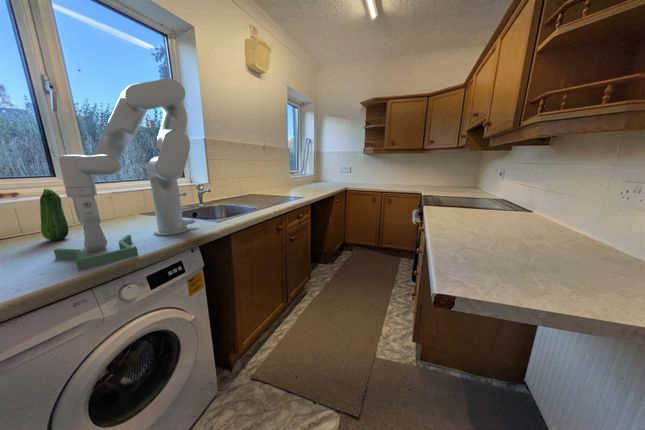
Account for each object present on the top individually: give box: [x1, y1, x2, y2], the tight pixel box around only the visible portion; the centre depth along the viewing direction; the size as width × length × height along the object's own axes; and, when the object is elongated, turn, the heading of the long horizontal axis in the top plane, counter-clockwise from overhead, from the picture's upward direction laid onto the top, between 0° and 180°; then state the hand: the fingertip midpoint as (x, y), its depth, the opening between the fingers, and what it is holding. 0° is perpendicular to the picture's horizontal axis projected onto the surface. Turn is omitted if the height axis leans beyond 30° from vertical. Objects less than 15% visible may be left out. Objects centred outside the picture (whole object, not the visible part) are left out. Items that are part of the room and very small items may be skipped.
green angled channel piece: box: [53, 234, 139, 271], centre depth 80 cm, size 20×18×3 cm
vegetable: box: [39, 188, 70, 241], centre depth 93 cm, size 7×7×20 cm
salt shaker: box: [82, 213, 108, 253], centre depth 84 cm, size 6×6×13 cm
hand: (92, 242), depth 89 cm, fingers closed
